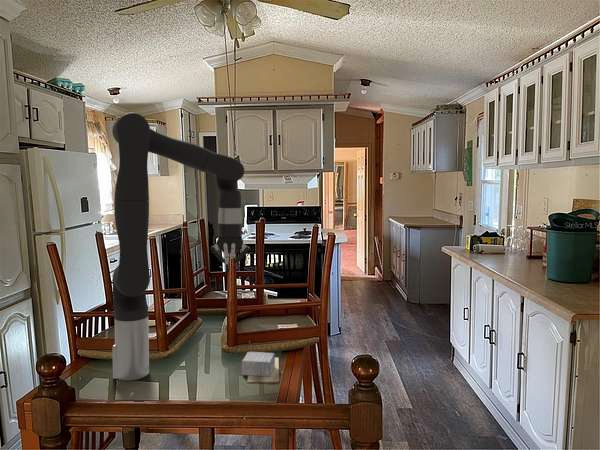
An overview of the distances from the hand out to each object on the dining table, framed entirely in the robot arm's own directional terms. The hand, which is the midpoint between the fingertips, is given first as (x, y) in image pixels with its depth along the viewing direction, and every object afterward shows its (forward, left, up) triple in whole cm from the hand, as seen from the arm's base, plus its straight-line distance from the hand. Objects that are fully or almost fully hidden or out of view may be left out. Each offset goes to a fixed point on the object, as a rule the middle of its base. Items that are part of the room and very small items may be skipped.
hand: (229, 275), depth 143 cm
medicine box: (+5, -12, -24) cm, 28 cm away
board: (+11, -11, -27) cm, 31 cm away
